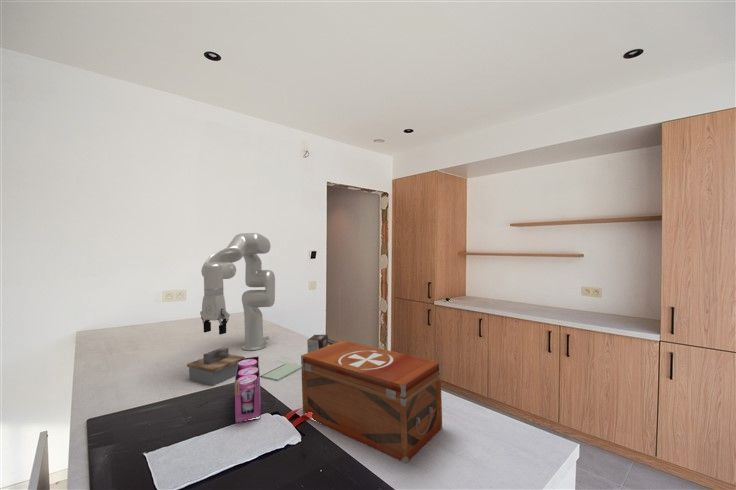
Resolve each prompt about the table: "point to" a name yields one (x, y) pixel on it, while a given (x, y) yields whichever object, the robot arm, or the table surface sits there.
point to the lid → (215, 360)
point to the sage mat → (282, 371)
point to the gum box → (247, 389)
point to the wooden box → (374, 396)
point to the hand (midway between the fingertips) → (214, 332)
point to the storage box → (213, 375)
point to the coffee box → (317, 342)
